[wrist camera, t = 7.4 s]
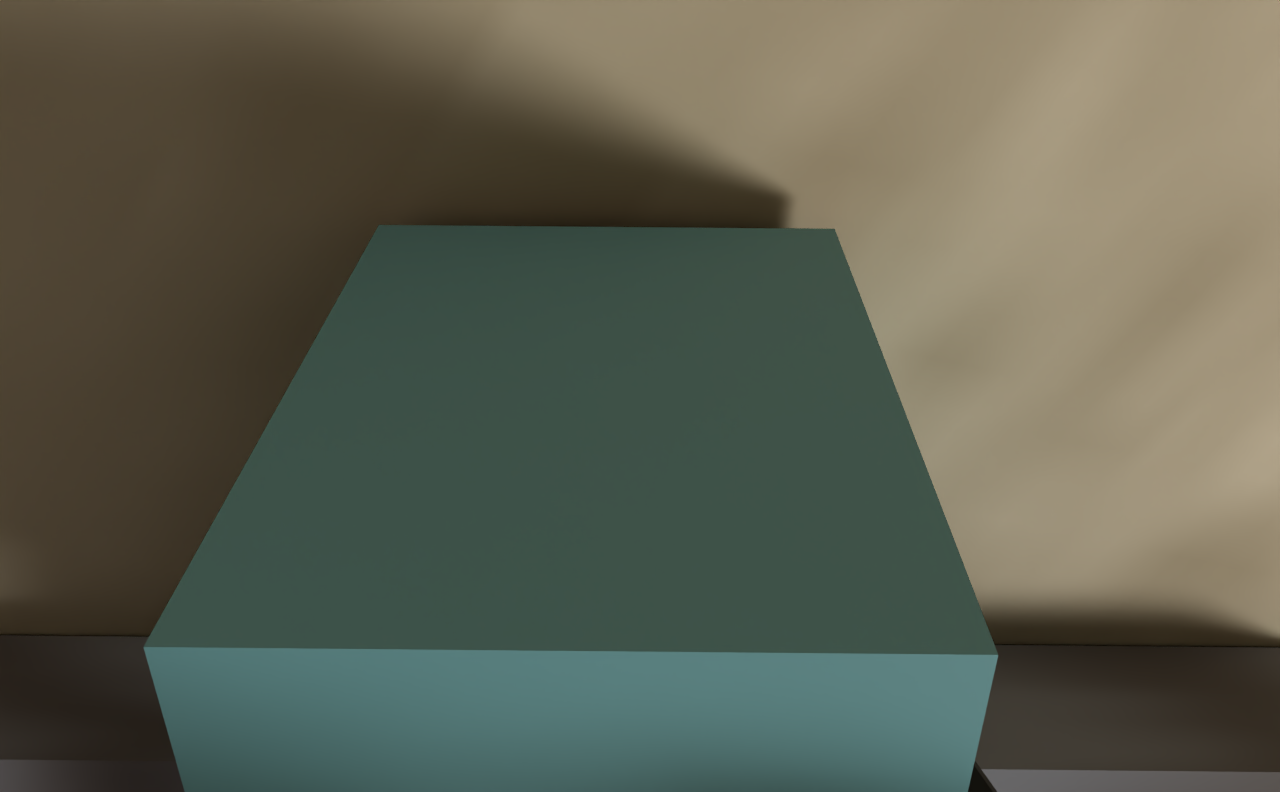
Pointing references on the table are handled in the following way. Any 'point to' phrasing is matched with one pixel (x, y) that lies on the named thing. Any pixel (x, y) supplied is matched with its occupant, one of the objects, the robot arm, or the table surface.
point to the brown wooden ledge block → (1007, 754)
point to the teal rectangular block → (581, 536)
